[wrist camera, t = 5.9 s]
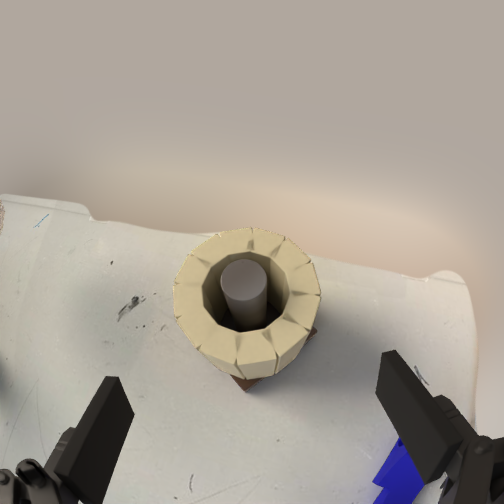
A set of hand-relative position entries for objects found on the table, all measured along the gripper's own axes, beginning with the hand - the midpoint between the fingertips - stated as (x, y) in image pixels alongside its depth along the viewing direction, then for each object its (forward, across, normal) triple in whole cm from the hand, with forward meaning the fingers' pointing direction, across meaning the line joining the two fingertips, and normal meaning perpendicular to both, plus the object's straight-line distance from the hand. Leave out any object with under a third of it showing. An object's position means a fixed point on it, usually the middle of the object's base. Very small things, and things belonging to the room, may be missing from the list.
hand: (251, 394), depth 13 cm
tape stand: (+13, 0, -4) cm, 13 cm away
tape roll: (+12, 0, -2) cm, 12 cm away
